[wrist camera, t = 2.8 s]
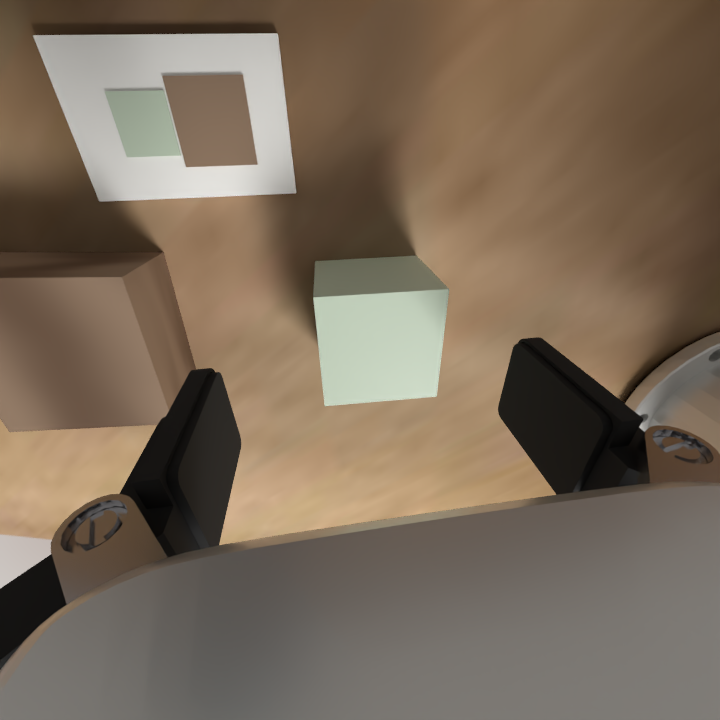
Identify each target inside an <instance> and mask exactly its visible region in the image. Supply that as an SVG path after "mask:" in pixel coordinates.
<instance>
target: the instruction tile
mask: <svg viewBox="0 0 720 720" xmlns="http://www.w3.org/2000/svg"><path fill="white" fill-rule="evenodd" d="M33 37H34V40H35V42H36V45H37V47H38V50H39V52H40V55H41V57H42V60H43V62H44V65H45V67H46V70H47V72H48V75H49V77H50V80H51V82H52V85H53V87H54V90H55V92H56V95H57V97H58V100H59V102H60V105H61V107H62V110H63V112H64V115H65V117H66V120H67V122H68V125H69V127H70V130H71V132H72V135H73V137H74V140H75V142H76V145H77V147H78V150H79V152H80V155H81V157H82V160H83V162H84V165H85V167H86V170H87V172H88V175H89V177H90V180H91V182H92V185H93V187H94V190H95V192H96V195H97V197H98V200H99V202H103V201H127V200H150V199H174V198H198V197H221V196H245V195H269V194H292V193H297V192H296V184H295V175H294V166H293V158H292V149H291V141H290V132H289V123H288V115H287V106H286V98H285V89H284V80H283V72H282V63H281V55H280V46H279V38H278V34H277V33H259V34H128V35H33Z"/></svg>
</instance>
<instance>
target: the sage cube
mask: <svg viewBox="0 0 720 720" xmlns="http://www.w3.org/2000/svg"><path fill="white" fill-rule="evenodd" d="M448 295H449V288H448V287H447V286H446V285H445V284H444V283H443V282H442V281H441V280H440V279H439V278H438V277H437V276H436V275H435V274H434V273H433V272H432V271H431V270H430V269H429V268H428V267H427V266H426V265H425V264H424V263H423V262H422V261H421V260H420V259H419V258H418V257H417V256H399V257H381V258H363V259H345V260H326V261H315V274H314V293H313V300H314V309H315V319H316V328H317V338H318V347H319V356H320V366H321V375H322V385H323V394H324V403H325V406H332V405H344V404H355V403H367V402H379V401H390V400H402V399H414V398H425V397H437V389H438V380H439V372H440V363H441V355H442V346H443V338H444V329H445V321H446V312H447V304H448Z"/></svg>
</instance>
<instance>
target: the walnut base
mask: <svg viewBox="0 0 720 720" xmlns="http://www.w3.org/2000/svg"><path fill="white" fill-rule="evenodd" d="M191 370H196V368H195V364H194V360H193V357H192V353H191V350H190V346H189V342H188V339H187V335H186V331H185V328H184V324H183V321H182V317H181V313H180V310H179V306H178V302H177V299H176V295H175V292H174V288H173V284H172V281H171V277H170V274H169V270H168V266H167V263H166V259H165V255H164V252H0V419H1V420H2V422H3V423H4V425H5V426H6V428H7V429H8V430H9V432H20V431H40V430H60V429H80V428H100V427H120V426H140V425H158V423H159V422H160V420H161V419H162V418H163V417H165V416H166V415H167V413H168V411H169V410H170V408H171V406H172V404H173V402H174V400H175V398H176V397H177V395H178V393H179V391H180V389H181V387H182V385H183V384H184V382H185V380H186V378H187V376H188V374H189V372H190V371H191Z"/></svg>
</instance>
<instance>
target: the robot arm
mask: <svg viewBox="0 0 720 720" xmlns="http://www.w3.org/2000/svg"><path fill="white" fill-rule="evenodd" d="M498 412H499V415H500V417H501V419H502V420H503V422H504V423H505V424H506V426H507V427H508V429H509V430H510V431H511V433H512V434H513V435H514V437H515V438H516V440H517V441H518V442H519V444H520V445H521V446H522V448H523V449H524V450H525V452H526V453H527V455H528V456H529V457H530V459H531V460H532V461H533V463H534V464H535V466H536V467H537V468H538V470H539V471H540V472H541V474H542V475H543V476H544V478H545V479H546V481H547V482H548V483H549V485H550V486H551V487H552V489H553V490H554V492H555V493H556V494H557V495H552V496H545V497H538V498H530V499H523V500H516V501H509V502H502V503H495V504H488V505H481V506H474V507H467V508H460V509H453V510H446V511H439V512H432V513H425V514H418V515H411V516H404V517H398V518H391V519H384V520H377V521H371V522H364V523H357V524H351V525H344V526H337V527H331V528H324V529H317V530H311V531H304V532H297V533H291V534H284V535H278V536H272V537H266V538H260V539H254V540H248V541H242V542H236V543H230V544H224V545H219V542H220V537H221V533H222V529H223V524H224V520H225V515H226V511H227V507H228V502H229V498H230V493H231V489H232V484H233V480H234V476H235V471H236V467H237V462H238V458H239V454H240V449H241V438H240V434H239V431H238V427H237V424H236V421H235V418H234V414H233V411H232V408H231V404H230V401H229V398H228V395H227V391H226V388H225V385H224V382H223V378H222V375H221V374H220V373H219V372H216V373H215V371H214V370H213V369H212V368H208V369H198V370H191V371H190V372H189V374H188V376H187V378H186V380H185V382H184V384H183V385H182V387H181V389H180V391H179V393H178V395H177V397H176V398H175V400H174V402H173V404H172V406H171V408H170V410H169V411H168V413H167V415H166V416H165V417H163V418H162V419H161V420H160V422H159V423H158V425H157V427H156V429H155V430H154V432H153V434H152V436H151V438H150V440H149V441H148V443H147V445H146V447H145V449H144V450H143V452H142V454H141V456H140V458H139V460H138V461H137V463H136V465H135V467H134V469H133V470H132V472H131V474H130V476H129V478H128V479H127V481H126V483H125V485H124V487H123V489H122V490H121V492H120V494H110V495H107V496H103V497H100V498H97V499H95V500H93V501H91V502H89V503H87V504H85V505H83V506H82V507H80V508H79V509H78V510H76V511H75V512H73V513H72V514H71V515H70V516H69V517H68V518H67V519H66V520H65V521H64V522H63V523H62V524H61V526H60V527H59V528H58V530H57V531H56V532H55V534H54V537H53V539H52V542H51V555H49V556H48V557H47V558H45V559H44V560H42V561H41V562H39V563H38V564H36V565H35V566H33V567H32V568H30V569H29V570H27V571H26V572H24V573H23V574H21V575H20V576H18V577H17V578H16V579H14V580H13V581H11V582H10V583H8V584H7V585H5V586H4V587H2V588H1V589H0V720H720V332H717V333H715V334H712V335H710V336H707V337H705V338H703V339H701V340H699V341H697V342H695V343H693V344H691V345H689V346H687V347H685V348H684V349H682V350H681V351H679V352H678V353H676V354H675V355H673V356H672V357H670V358H668V359H667V360H666V361H665V362H663V363H662V364H661V365H660V366H658V367H657V368H656V369H655V370H653V371H652V372H651V373H650V374H649V375H648V376H647V377H646V378H645V379H644V380H643V381H642V382H641V383H640V384H639V385H638V386H637V387H636V389H635V390H634V391H633V393H632V394H631V395H630V397H629V398H628V399H627V401H626V403H625V404H624V403H623V402H622V401H621V400H619V399H618V398H617V397H615V396H614V395H613V394H612V393H610V392H609V391H608V390H607V389H605V388H604V387H603V386H602V385H600V384H599V383H598V382H596V381H595V380H594V379H593V378H591V377H590V376H589V375H588V374H586V373H585V372H584V371H583V370H581V369H580V368H579V367H577V366H576V365H575V364H574V363H572V362H571V361H570V360H569V359H567V358H566V357H565V356H564V355H562V354H561V353H560V352H558V351H557V350H556V349H555V348H553V347H552V346H551V345H550V344H548V343H547V342H546V341H545V340H543V339H542V338H527V339H521V340H520V341H519V342H518V344H516V345H515V346H514V347H513V351H512V355H511V359H510V363H509V367H508V370H507V374H506V378H505V382H504V386H503V390H502V394H501V398H500V402H499V406H498Z"/></svg>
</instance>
